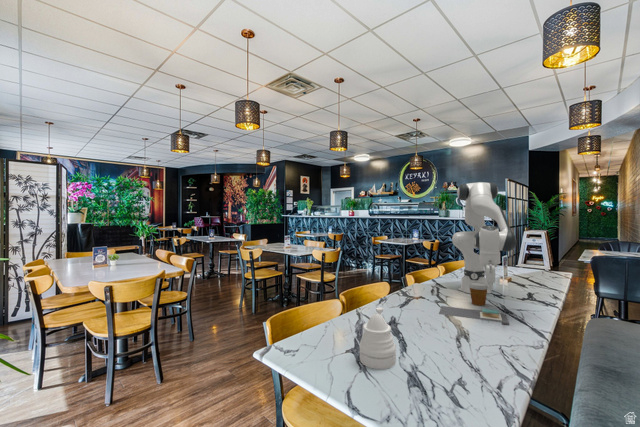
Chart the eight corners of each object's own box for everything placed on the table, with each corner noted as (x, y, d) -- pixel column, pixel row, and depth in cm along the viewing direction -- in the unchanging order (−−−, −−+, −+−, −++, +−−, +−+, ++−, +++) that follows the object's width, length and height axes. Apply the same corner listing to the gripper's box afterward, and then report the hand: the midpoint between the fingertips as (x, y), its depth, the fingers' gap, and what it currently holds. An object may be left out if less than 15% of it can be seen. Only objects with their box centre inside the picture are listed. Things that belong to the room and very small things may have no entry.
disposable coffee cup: (483, 303, 170) (483, 282, 169) (491, 308, 160) (491, 286, 160) (466, 302, 170) (465, 281, 170) (473, 308, 161) (472, 286, 161)
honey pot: (370, 348, 117) (370, 302, 117) (402, 358, 109) (401, 308, 108) (352, 361, 107) (352, 311, 107) (385, 373, 99) (384, 318, 98)
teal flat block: (498, 315, 147) (498, 310, 147) (499, 318, 142) (499, 313, 142) (482, 313, 150) (482, 308, 150) (482, 316, 146) (482, 311, 146)
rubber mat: (441, 307, 163) (441, 305, 163) (506, 315, 149) (506, 313, 149) (438, 315, 150) (438, 313, 150) (508, 325, 137) (508, 323, 137)
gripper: (498, 263, 135) (499, 293, 136) (495, 256, 153) (496, 283, 154) (482, 262, 138) (483, 292, 138) (482, 255, 156) (482, 282, 157)
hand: (490, 287), depth 146 cm, fingers open, 8 cm apart
